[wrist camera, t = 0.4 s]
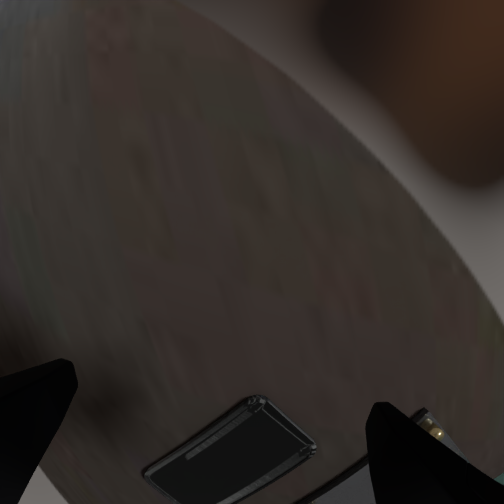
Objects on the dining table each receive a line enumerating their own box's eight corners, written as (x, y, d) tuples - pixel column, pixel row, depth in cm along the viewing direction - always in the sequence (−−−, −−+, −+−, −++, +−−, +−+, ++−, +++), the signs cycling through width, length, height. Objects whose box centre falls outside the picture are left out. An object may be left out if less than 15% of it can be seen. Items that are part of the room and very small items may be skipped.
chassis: (358, 541, 22) (364, 561, 18) (295, 504, 22) (298, 527, 19) (467, 460, 22) (482, 475, 18) (424, 407, 22) (441, 423, 19)
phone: (322, 449, 22) (199, 521, 22) (320, 442, 23) (201, 515, 23) (257, 391, 22) (138, 475, 22) (257, 386, 23) (142, 469, 23)
